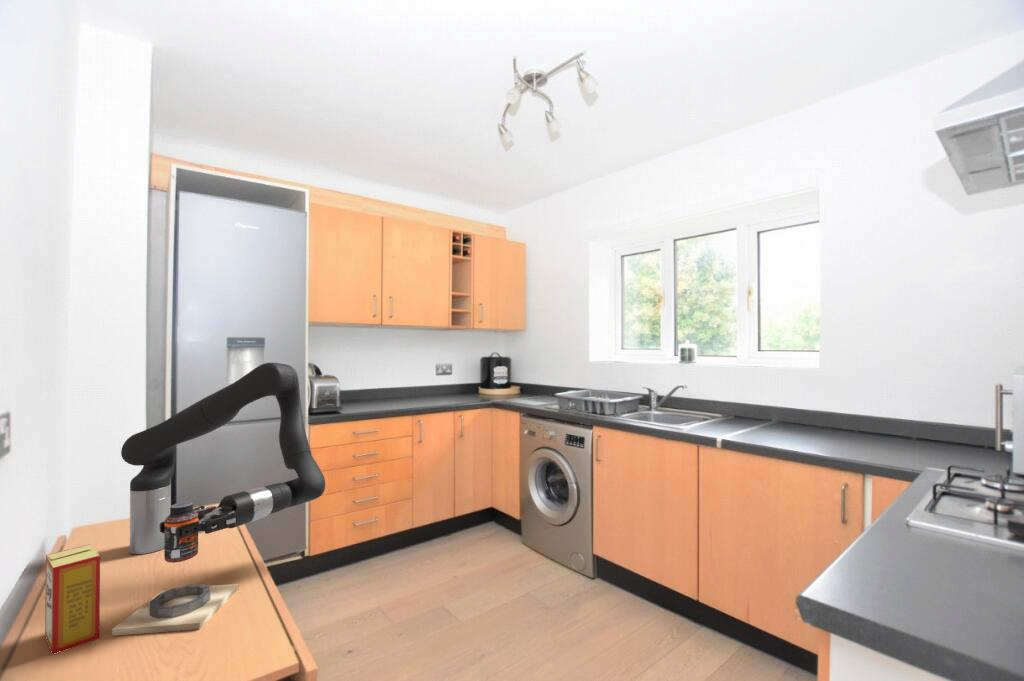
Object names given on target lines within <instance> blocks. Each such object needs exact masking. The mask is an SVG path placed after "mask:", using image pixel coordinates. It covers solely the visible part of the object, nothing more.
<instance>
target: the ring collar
mask: <svg viewBox="0 0 1024 681" xmlns="http://www.w3.org/2000/svg"><path fill="white" fill-rule="evenodd" d="M210 586H211V585H208V584H203V583H196V584H195V583H191V584H186V585H181V586H178V587H177V586H176V587H172V588H173V589H171V590H168V591H166V592H164V593H161V594H159V595H158V596H156V595H155V596H156V597H155V596H154V597H155V598H154V599H153V600H151V599H150V600H151V601H150V616H151V617H154V618H157V619H162V618H173V617H177V616H181V615H184V614H188V613H191V612H193V611H195V610H197V609H199V608H201V607H203V606H204V605H205V604H206V603H207V602H208V601H209V600H210ZM186 595H199V597H198V598H195V599H193V600H191V601H189V602H186V603H183V604H179V605H175V606H161V605H163V604H164V603H166V602H168V601H170V600H173V599H175V598H179V597H183V596H186Z"/></svg>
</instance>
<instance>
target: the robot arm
mask: <svg viewBox="0 0 1024 681" xmlns="http://www.w3.org/2000/svg"><path fill="white" fill-rule="evenodd" d="M271 396H272V397H274V396H275V398H276V400H277V403H278V406H279V410H280V426H279V431H278V441H279V442H278V443H279V447H280V448H279V449H280V452H281V455H282V459H283V463H284V465H285V468H287V470H294V472H296V474H297V477H296V478H293V479H290V480H287V481H283V482H276V483H272V484H268V485H265V486H261V487H254V488H250V489H246V490H243V491H238V492H236V493H232V494H228V495H225V496H223V497H222V499H221V500H220V502H219V504H218V505H217V506H216V505H211V506H207V507H206V506H205V505H200V506H197V507H193V511H194V512H196V513H197V514H198V521H197V522H193V523H189V524H186V525H183V526H180V527H177V528H176V530H175V531H176V538H182V537H185V536H188V535H191V534H194V533H198V534H203V533H204V534H207V535H208V534H211V533H214V532H219V531H221V530H225V529H226V530H227V529H234V528H237V527H241V526H244V525H246V524H249V523H252V522H254V521H259V520H260V519H262V518H265V517H266V516H270V515H272V514H275V513H278V512H281V511H283V510H285V509H288V508H292V507H295V506H300V505H302V504H305V503H308V502H310V501H314V500H317V499H318V498H320V497H321V496H322V495H323V494H324V492H325V489H326V479H325V478H326V477H325V475H324V473H323V471H322V470H321V469H320V468H321V467H320V466H319V465H318V463H317V461H316V460H315V459H314V456H313V454H312V451H311V447H310V443H309V440H308V436H307V432H306V428H305V425H304V424H305V423H304V418H303V408H302V402H301V393H300V382H299V375H298V373H297V371H296V370H295V368H294V367H293V366H291V365H289V364H286V363H279V362H265V363H262V364H259V365H258V366H256V367H255V368H254V369H252V370H250V371H249V372H248V373H246V374H245V375H243V376H242V377H241V378H239V379H237V380H235V381H234V382H232V383H231V384H229V385H227V386H225V387H223V388H221V389H219V390H217V391H216V392H214V393H212V394H209V395H208V396H205V397H204V398H202V399H200V400H198V401H197V402H195V403H193V404H191V405H190V406H188V407H186V408H184V409H182V410H181V411H179V412H177V413H175V414H174V415H172V416H171V417H169V418H168V419H166V420H164V421H162V422H161V423H159V424H156V425H154V426H152V427H149V428H146V429H145V430H142V431H140V432H136V433H134V434H132V435H131V436H130V437H128V438H127V439H126V440H125V441H124V443H123V445H122V447H121V449H120V453H121V454H120V455H121V458H122V460H123V462H125V463H127V464H129V465H132V466H142V468H141V469H140V471H139V472H138V473H137V475H135V476H134V477H133V478H131V480H130V483H129V553H130V554H133V555H144V554H149V553H153V552H157V551H160V550H164V534H165V531H164V530H165V519H166V518H167V517H168V516H169V515H170V507H171V506H172V505H171V504H172V503H171V500H172V499H171V496H172V495H171V487H172V486H171V483H172V482H171V481H172V477H173V475H174V473H175V462H176V446H177V445H179V444H182V443H185V442H188V441H191V440H194V439H197V438H199V437H202V436H205V435H206V434H209V433H212V432H213V431H216V430H217V429H220V428H221V427H223V426H225V425H226V424H228V423H229V422H231V421H233V419H234V418H235V417H236V416H237V415H238V413H239V412H240V411H241V410H242V409H243V408H244V407H246V406H247V405H249V404H252V403H253V402H255V401H258V400H260V399H263V398H266V397H271ZM205 507H206V508H205Z"/></svg>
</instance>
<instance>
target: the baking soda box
mask: <svg viewBox="0 0 1024 681" xmlns="http://www.w3.org/2000/svg"><path fill="white" fill-rule="evenodd" d="M100 579H101V556H100V554H99V553H98V552H97V550H96V549H95V548H94V546H93V545H91V544H86V545H81V546H76V547H73V548H69V549H65V550H61V551H57V552H53V553H48V554H45V597H44V599H45V604H44V607H45V610H44V611H45V612H44V613H45V615H44V616H45V618H44V624H45V625H44V626H45V627H44V636H45V635H46V637H47V640H48V642H47V644H48V643H49V645H48V647H49V646H50V648H51V650H50V652H51V651H52V653H51V655H52V654H54V653H57V652H59V651H62V652H64V651H63V650H65V651H67V650H66V649H68V650H70V649H73V648H75V647H78V646H81V645H85V644H86V643H90V642H92V641H94V640H97V639H100V630H101V629H100V627H101V626H100V625H101V624H100V621H101V620H100V619H101V618H100V617H101V616H100V612H101V611H100V610H101V609H100V607H101V606H100V604H101V601H100V600H101V596H100V595H101V580H100ZM46 637H45V638H46ZM47 640H46V641H47ZM72 647H73V648H72ZM50 648H49V649H50ZM69 648H70V649H69ZM59 653H60V652H59ZM57 654H58V653H57ZM54 655H55V654H54Z"/></svg>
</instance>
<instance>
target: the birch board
mask: <svg viewBox="0 0 1024 681" xmlns="http://www.w3.org/2000/svg"><path fill="white" fill-rule="evenodd" d="M209 586H210V600H209V601H208V602H207V603H206V604H205V605H204V606H203V607H201V608H199V609H197V610H195V611H193V612H191V613H188V614H184V615H181V616H177V617H173V618H162V619H157V618H154V617H151V616H150V601H151V600H153V599H154V598H155V597H156V596H158V595H159V594H161V593H164V592H166V591H168V590H171V589H173V588H174V587H171V588H170V587H169V588H163V590H161V591H160V592H159V593H157V594H156V595H155V596H153V597H152V598H150V599H149V600H147V602H146V603H144V604H143V605H142V606H140V607H139V608H138V609H137V610H135V611H134V612H132V613H131V614H130V615H129V616H127V617H126V618H125V619H124V620H122V621H121V622H120V623H119V624H117V625H115V627H113V628H112V629H111V636H126V635H140V634H142V635H143V634H153V633H154V634H155V633H164V632H165V633H167V632H168V631H169V632H179V631H181V630H182V631H191V630H192V631H193V630H200V629H201V628H202V627H203V626H204V625H205V624H206V623H207V622H208V621H209V620H210V619H212V617H213V616H214V615H215V614H216V613H217V612H218V611H219V610H220V609H221V608H222V607H223V606H224V605H225V604H226V603H227V601H229V600H230V598H231V597H232V596H233V595H234V594H235V593H236V592H237V591H238V590H239V583H233V584H231V583H230V584H219V585H209ZM198 597H199V595H186V596H183V597H179V598H175V599H173V600H170V601H168V602H166V603H164V604H163V605H161V606H175V605H179V604H183V603H186V602H189V601H191V600H193V599H195V598H198Z"/></svg>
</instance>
